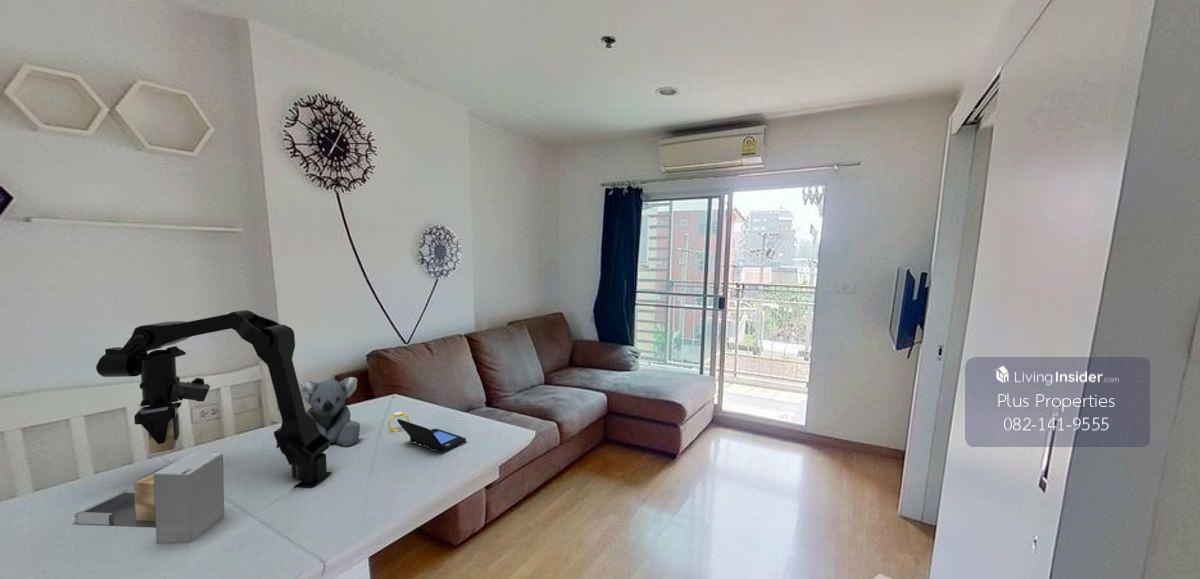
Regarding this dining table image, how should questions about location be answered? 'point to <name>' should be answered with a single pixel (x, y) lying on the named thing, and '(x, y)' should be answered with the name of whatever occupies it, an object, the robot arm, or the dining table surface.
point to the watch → (397, 416)
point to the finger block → (170, 438)
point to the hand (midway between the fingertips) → (163, 439)
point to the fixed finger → (145, 499)
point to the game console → (431, 437)
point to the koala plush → (332, 409)
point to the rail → (113, 513)
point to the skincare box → (189, 497)
